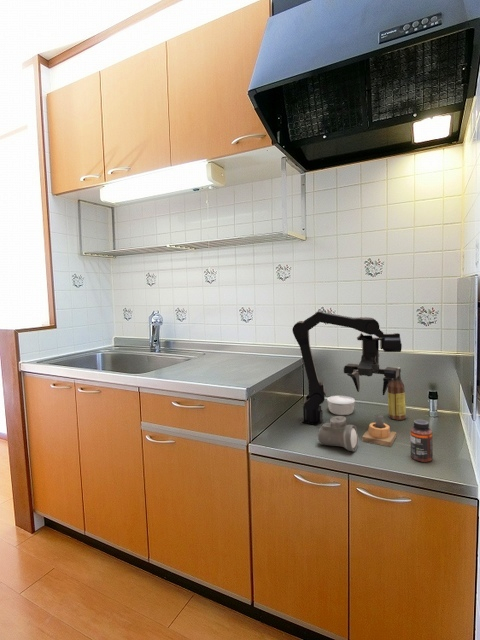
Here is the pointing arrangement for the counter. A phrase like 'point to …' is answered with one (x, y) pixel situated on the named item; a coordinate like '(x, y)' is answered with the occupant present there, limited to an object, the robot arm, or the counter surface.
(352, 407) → the ramekin
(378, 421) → the shaft post
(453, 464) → the counter surface
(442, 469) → the counter surface
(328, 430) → the pipe fitting
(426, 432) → the supplement bottle
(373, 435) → the ring
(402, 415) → the sauce bottle
